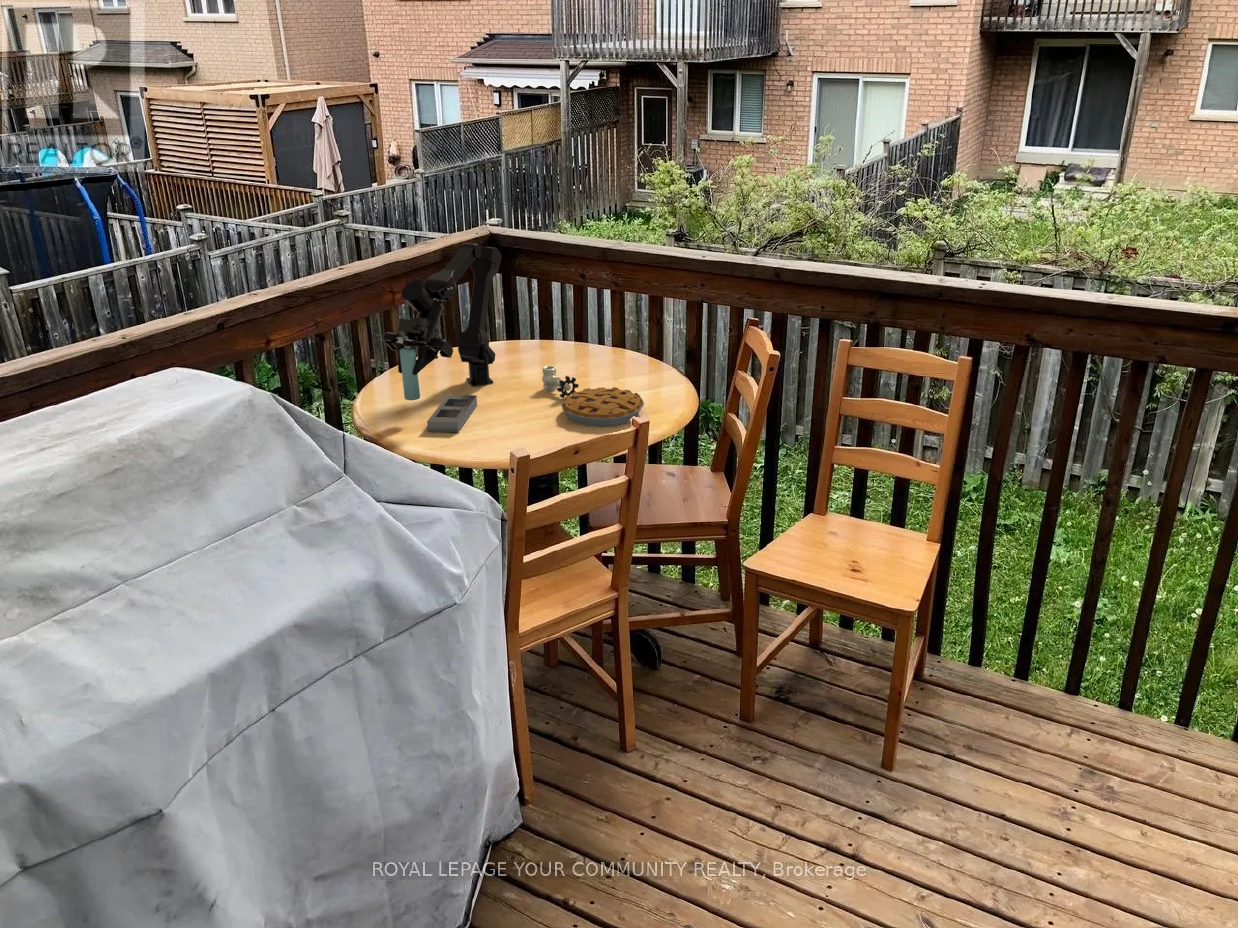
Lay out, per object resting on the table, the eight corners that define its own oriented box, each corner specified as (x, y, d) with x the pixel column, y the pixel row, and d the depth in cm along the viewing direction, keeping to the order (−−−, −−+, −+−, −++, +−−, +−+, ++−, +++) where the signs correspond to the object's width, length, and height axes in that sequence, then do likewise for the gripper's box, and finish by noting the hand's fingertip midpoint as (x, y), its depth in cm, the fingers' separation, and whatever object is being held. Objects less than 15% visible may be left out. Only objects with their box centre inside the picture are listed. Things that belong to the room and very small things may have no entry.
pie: (656, 407, 271) (656, 389, 269) (623, 435, 253) (623, 416, 251) (584, 396, 279) (583, 379, 277) (547, 423, 261) (546, 405, 259)
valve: (536, 390, 285) (559, 401, 276) (535, 368, 282) (558, 379, 273) (556, 385, 288) (579, 396, 279) (555, 363, 285) (578, 374, 276)
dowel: (402, 396, 262) (397, 349, 257) (417, 394, 263) (413, 346, 258) (406, 401, 258) (401, 353, 253) (421, 398, 260) (417, 351, 255)
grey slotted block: (448, 405, 274) (447, 394, 273) (477, 405, 273) (476, 395, 272) (428, 432, 256) (427, 421, 255) (458, 433, 255) (457, 422, 254)
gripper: (381, 301, 258) (360, 354, 253) (443, 308, 251) (422, 363, 246) (402, 323, 268) (382, 374, 263) (462, 330, 261) (442, 383, 256)
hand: (406, 373), depth 257 cm, fingers closed on dowel, 4 cm apart
